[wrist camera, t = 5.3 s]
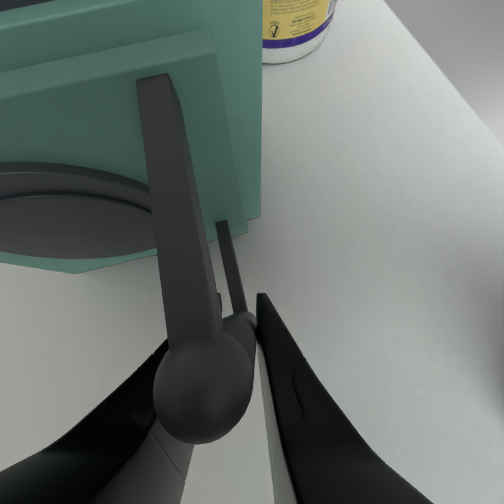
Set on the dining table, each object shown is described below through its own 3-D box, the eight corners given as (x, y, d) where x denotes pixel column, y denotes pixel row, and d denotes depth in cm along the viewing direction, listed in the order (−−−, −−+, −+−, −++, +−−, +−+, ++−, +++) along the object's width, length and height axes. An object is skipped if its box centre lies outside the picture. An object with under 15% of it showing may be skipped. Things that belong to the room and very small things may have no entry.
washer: (260, 216, 17) (265, -176, 3) (73, 262, 17) (-897, 48, 3) (230, 108, 20) (164, -340, 6) (71, 144, 20) (-395, -246, 6)
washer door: (271, 326, 14) (328, 441, 2) (75, 376, 14) (-954, 787, 2) (245, 223, 16) (208, 13, 4) (73, 264, 16) (-458, 154, 4)
